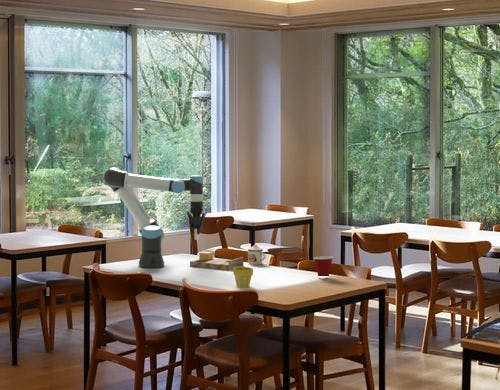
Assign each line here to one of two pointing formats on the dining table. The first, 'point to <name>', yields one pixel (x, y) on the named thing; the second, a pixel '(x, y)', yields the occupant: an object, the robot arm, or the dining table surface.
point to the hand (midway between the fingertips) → (196, 239)
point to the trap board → (218, 263)
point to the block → (206, 255)
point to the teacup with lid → (255, 255)
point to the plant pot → (243, 276)
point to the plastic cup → (323, 265)
